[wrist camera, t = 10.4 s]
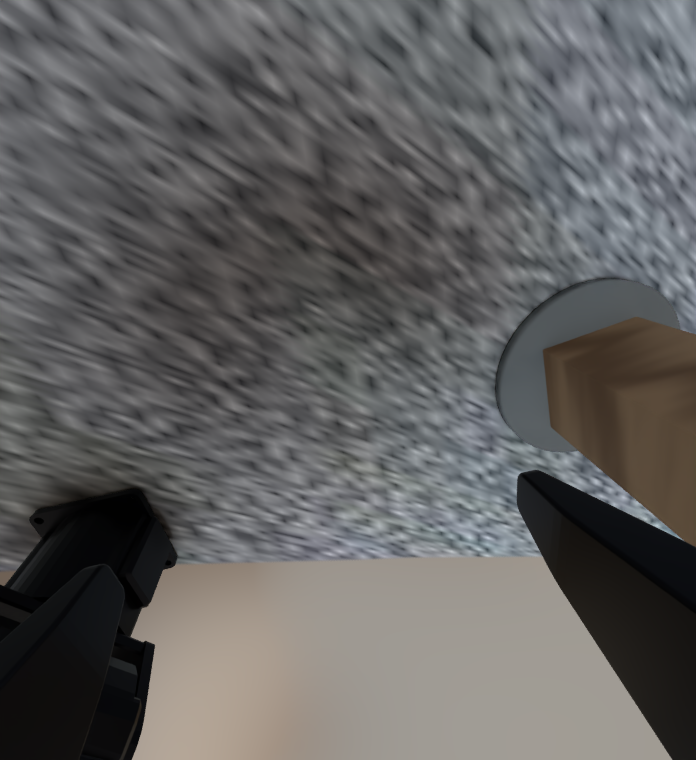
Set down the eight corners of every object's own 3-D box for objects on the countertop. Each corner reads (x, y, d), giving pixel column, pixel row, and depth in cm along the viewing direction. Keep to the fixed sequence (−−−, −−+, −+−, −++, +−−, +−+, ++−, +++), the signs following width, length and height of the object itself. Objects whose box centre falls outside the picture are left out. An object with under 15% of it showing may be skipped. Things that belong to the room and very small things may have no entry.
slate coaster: (496, 460, 25) (502, 468, 24) (494, 300, 20) (502, 303, 19) (651, 425, 25) (661, 431, 24) (685, 260, 20) (699, 261, 20)
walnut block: (550, 427, 23) (771, 615, 12) (542, 349, 21) (806, 497, 10) (634, 397, 23) (934, 562, 12) (636, 316, 21) (1008, 430, 10)
